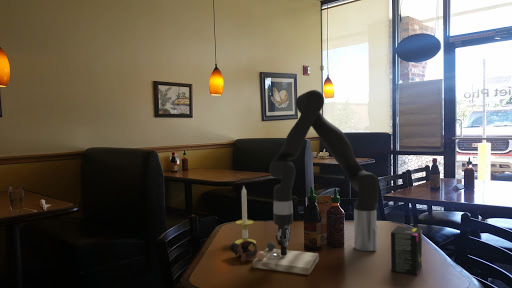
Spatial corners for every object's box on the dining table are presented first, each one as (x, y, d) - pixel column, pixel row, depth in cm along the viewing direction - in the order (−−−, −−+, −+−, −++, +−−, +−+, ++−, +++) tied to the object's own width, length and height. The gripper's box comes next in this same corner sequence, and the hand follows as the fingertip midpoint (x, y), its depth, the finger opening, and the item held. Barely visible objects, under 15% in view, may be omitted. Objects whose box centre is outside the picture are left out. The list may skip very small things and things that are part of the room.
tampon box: (417, 276, 138) (417, 235, 137) (390, 271, 143) (390, 232, 142) (422, 266, 147) (422, 227, 146) (397, 261, 152) (397, 224, 151)
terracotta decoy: (266, 258, 152) (266, 250, 151) (263, 261, 149) (263, 253, 148) (258, 257, 153) (258, 249, 153) (255, 260, 150) (254, 252, 150)
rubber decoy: (276, 249, 163) (276, 241, 163) (273, 251, 160) (273, 243, 159) (268, 248, 164) (268, 240, 164) (266, 251, 161) (265, 242, 161)
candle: (251, 247, 174) (250, 187, 173) (231, 245, 178) (229, 186, 176) (259, 240, 184) (257, 183, 182) (239, 238, 187) (237, 183, 185)
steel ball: (280, 257, 156) (275, 250, 156) (277, 261, 153) (273, 253, 153) (274, 261, 157) (269, 254, 158) (271, 264, 154) (266, 257, 154)
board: (318, 259, 157) (318, 253, 156) (308, 274, 142) (308, 267, 142) (267, 253, 165) (267, 248, 165) (253, 267, 150) (252, 260, 150)
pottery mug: (258, 254, 165) (261, 241, 161) (252, 272, 158) (255, 258, 153) (231, 246, 167) (233, 233, 163) (224, 263, 159) (226, 249, 155)
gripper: (287, 216, 145) (288, 261, 146) (297, 208, 157) (297, 250, 158) (268, 214, 148) (269, 259, 149) (279, 207, 160) (280, 248, 161)
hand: (284, 254), depth 153 cm, fingers closed
